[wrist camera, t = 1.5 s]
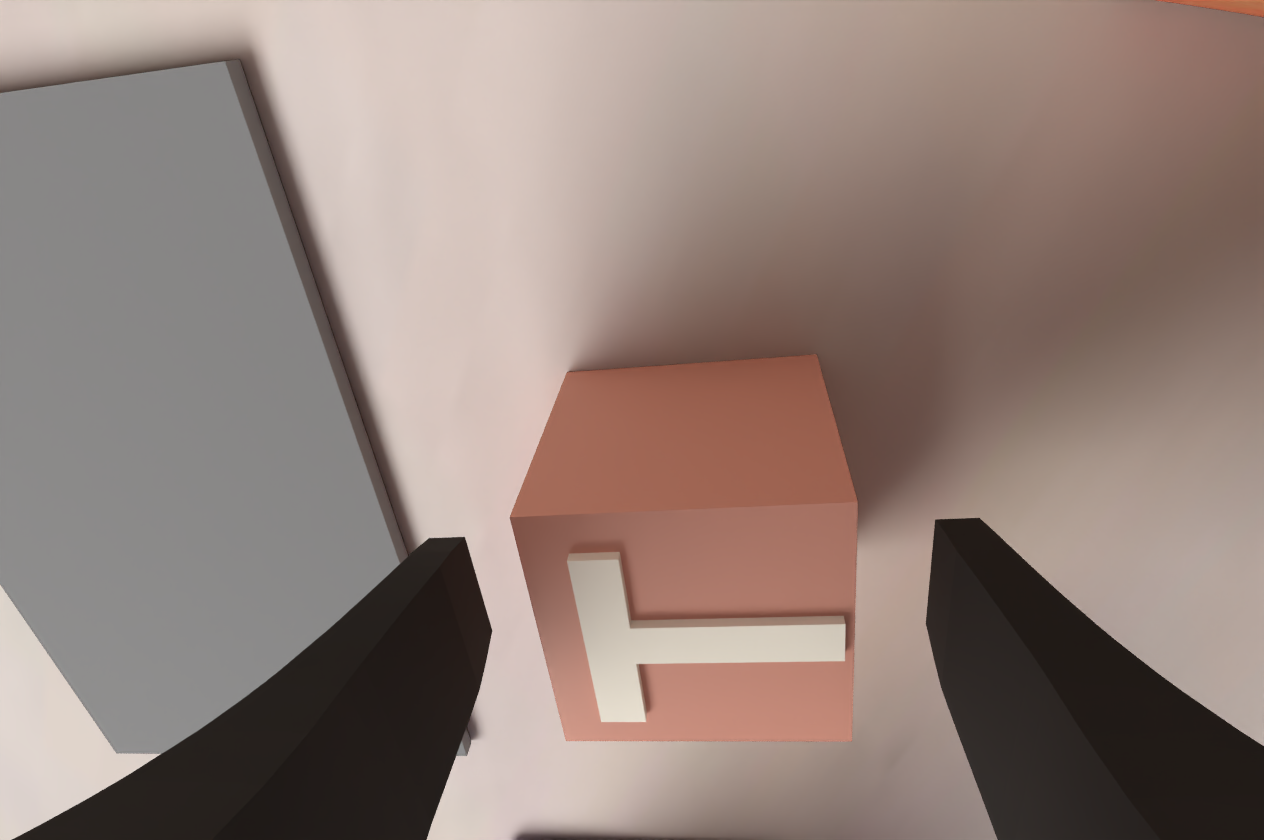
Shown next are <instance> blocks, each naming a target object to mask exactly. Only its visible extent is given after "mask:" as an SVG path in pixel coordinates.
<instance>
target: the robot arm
mask: <svg viewBox="0 0 1264 840" xmlns="http://www.w3.org/2000/svg"><path fill="white" fill-rule="evenodd" d="M926 626H927V630H928V634H929V639H930V643H931V647H932V652H933V656H934V660H935V664H936V668H937V672H938V676H939V680H940V684H941V688H942V691H943V694H944V697H945V699H946V702H947V705H948V708H949V710H950V713H951V716H952V718H953V721H954V724H955V727H956V729H957V732H958V735H959V737H960V740H961V743H962V745H963V748H964V751H965V753H966V756H967V759H968V761H969V764H970V767H971V769H972V772H973V775H974V777H975V780H976V783H977V785H978V788H979V791H980V793H981V796H982V799H983V801H984V804H985V807H986V809H987V812H988V815H989V817H990V820H991V823H992V825H993V828H994V831H995V833H996V836H997V839H998V840H1264V746H1262V745H1261V744H1259V743H1258V742H1256V741H1255V740H1253V739H1252V738H1250V737H1248V736H1247V735H1245V734H1244V733H1242V732H1241V731H1239V730H1238V729H1236V728H1235V727H1233V726H1232V725H1230V724H1229V723H1227V722H1226V721H1225V720H1223V719H1222V718H1220V717H1219V716H1217V715H1216V714H1214V713H1213V712H1211V711H1210V710H1209V709H1207V708H1206V707H1204V706H1203V705H1201V704H1200V703H1198V702H1197V701H1195V700H1194V699H1193V698H1191V697H1190V696H1188V695H1187V694H1185V693H1184V692H1182V691H1181V690H1180V689H1178V688H1177V687H1176V686H1174V685H1173V684H1172V683H1170V682H1169V681H1167V680H1166V679H1165V678H1163V677H1162V676H1161V675H1159V674H1158V673H1157V672H1155V671H1154V670H1153V669H1151V668H1150V667H1149V666H1148V665H1146V664H1145V663H1144V662H1143V661H1141V660H1140V659H1139V658H1137V657H1136V656H1135V655H1134V654H1132V653H1131V652H1130V651H1128V650H1127V649H1126V648H1125V647H1123V646H1122V645H1121V644H1120V643H1118V642H1117V641H1116V640H1114V639H1113V638H1112V637H1111V636H1110V635H1108V634H1107V633H1106V632H1105V631H1104V630H1102V629H1101V628H1100V627H1099V626H1098V625H1096V624H1095V623H1094V622H1093V621H1092V620H1091V619H1090V618H1088V617H1087V616H1086V615H1085V614H1084V613H1083V612H1081V611H1080V610H1079V609H1078V608H1077V607H1076V606H1075V605H1073V604H1072V603H1071V602H1070V601H1069V600H1068V599H1067V598H1065V597H1064V596H1063V595H1062V594H1061V593H1060V592H1059V591H1057V590H1056V589H1055V588H1054V587H1053V586H1052V585H1051V584H1050V583H1049V582H1048V581H1046V580H1045V579H1044V578H1043V577H1042V576H1041V575H1040V574H1039V573H1038V572H1037V571H1036V570H1035V569H1034V568H1032V567H1031V566H1030V565H1029V564H1028V563H1027V562H1026V561H1025V560H1024V559H1023V558H1022V557H1021V556H1020V555H1019V554H1017V553H1016V552H1015V551H1014V550H1013V549H1012V548H1011V547H1010V546H1009V545H1008V544H1007V543H1006V542H1005V541H1004V540H1003V539H1002V538H1001V537H1000V536H998V535H997V534H996V533H995V532H994V531H993V530H992V529H991V528H990V527H989V526H988V525H987V524H986V523H984V522H983V521H982V520H981V519H980V518H966V519H939V520H935V529H934V540H933V551H932V562H931V573H930V584H929V595H928V606H927V617H926ZM491 634H492V629H491V625H490V622H489V618H488V615H487V611H486V608H485V605H484V601H483V598H482V594H481V591H480V588H479V584H478V581H477V577H476V574H475V570H474V567H473V564H472V560H471V557H470V553H469V550H468V547H467V543H466V540H465V537H452V538H429V539H428V540H426V541H425V542H424V543H423V544H422V545H420V546H419V547H418V548H417V549H416V550H415V551H414V552H412V553H411V554H410V555H409V556H408V557H407V558H406V559H405V560H404V561H403V562H402V563H400V564H399V565H398V566H397V567H396V568H395V569H394V570H393V571H392V572H391V573H390V574H389V575H388V576H386V577H385V578H384V579H383V580H382V581H381V582H380V583H379V584H378V585H377V586H376V587H375V588H374V589H372V590H371V591H370V592H369V593H368V594H367V595H366V596H365V597H364V598H363V599H361V600H360V601H359V602H358V603H357V604H356V605H355V606H354V607H353V608H352V609H350V610H349V611H348V612H347V613H346V614H345V615H344V616H343V617H342V618H341V619H340V620H338V621H337V622H336V623H335V624H334V625H333V626H332V627H331V628H329V629H328V630H327V631H326V632H325V633H323V634H322V635H321V636H320V637H319V638H317V639H316V640H315V641H314V642H313V643H312V644H310V645H309V646H308V647H307V648H306V649H304V650H303V651H302V652H301V653H300V654H298V655H297V656H296V657H295V658H294V659H293V660H291V661H290V662H289V663H288V664H287V665H285V666H284V667H283V668H282V669H281V670H279V671H278V672H277V673H276V674H274V675H273V676H272V677H271V678H269V679H268V680H267V681H266V682H264V683H263V684H262V685H260V686H259V687H258V688H256V689H255V690H254V691H252V692H251V693H250V694H249V695H247V696H246V697H245V698H243V699H242V700H240V701H239V702H238V703H236V704H235V705H233V706H232V707H231V708H229V709H228V710H226V711H225V712H224V713H222V714H221V715H220V716H218V717H217V718H215V719H214V720H213V721H211V722H210V723H208V724H207V725H205V726H204V727H202V728H201V729H200V730H198V731H197V732H195V733H193V734H192V735H190V736H189V737H187V738H186V739H184V740H183V741H181V742H179V743H178V744H176V745H175V746H173V747H172V748H170V749H168V750H167V751H165V752H164V753H162V754H161V755H159V756H158V757H156V758H154V759H153V760H151V761H150V762H148V763H147V764H145V765H143V766H142V767H140V768H139V769H137V770H136V771H134V772H133V773H131V774H129V775H128V776H126V777H124V778H123V779H121V780H119V781H118V782H116V783H114V784H112V785H111V786H109V787H107V788H106V789H104V790H102V791H100V792H99V793H97V794H95V795H93V796H92V797H90V798H88V799H87V800H85V801H83V802H81V803H79V804H78V805H76V806H74V807H72V808H70V809H69V810H67V811H65V812H63V813H61V814H59V815H58V816H56V817H54V818H52V819H50V820H48V821H47V822H45V823H43V824H41V825H39V826H37V827H35V828H34V829H32V830H30V831H28V832H26V833H24V834H22V835H20V836H18V837H16V838H14V839H12V840H426V839H427V836H428V833H429V830H430V827H431V824H432V821H433V818H434V816H435V813H436V810H437V807H438V804H439V802H440V799H441V796H442V793H443V791H444V788H445V785H446V782H447V780H448V777H449V774H450V771H451V769H452V766H453V763H454V760H455V758H456V755H457V752H458V749H459V747H460V744H461V741H462V738H463V735H464V733H465V730H466V727H467V724H468V721H469V718H470V716H471V713H472V710H473V707H474V704H475V701H476V698H477V695H478V692H479V689H480V685H481V681H482V677H483V672H484V668H485V664H486V659H487V654H488V649H489V644H490V639H491Z"/></svg>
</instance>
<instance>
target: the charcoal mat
mask: <svg viewBox="0 0 1264 840" xmlns="http://www.w3.org/2000/svg"><path fill="white" fill-rule="evenodd" d="M407 557H408V554H407V551H406V548H405V545H404V542H403V539H402V536H401V534H400V531H399V528H398V525H397V522H396V519H395V516H394V513H393V510H392V507H391V504H390V501H389V498H388V495H387V492H386V489H385V486H384V483H383V481H382V478H381V475H380V472H379V469H378V466H377V463H376V460H375V457H374V454H373V451H372V448H371V445H370V442H369V439H368V436H367V433H366V430H365V428H364V425H363V422H362V419H361V416H360V413H359V410H358V407H357V404H356V401H355V398H354V395H353V392H352V389H351V386H350V383H349V380H348V377H347V374H346V372H345V369H344V366H343V363H342V360H341V357H340V354H339V351H338V348H337V345H336V342H335V339H334V336H333V333H332V330H331V327H330V324H329V321H328V319H327V316H326V313H325V310H324V307H323V304H322V301H321V298H320V295H319V292H318V289H317V286H316V283H315V280H314V277H313V274H312V271H311V268H310V266H309V263H308V260H307V257H306V254H305V251H304V248H303V245H302V242H301V239H300V236H299V233H298V230H297V227H296V224H295V221H294V218H293V215H292V212H291V210H290V207H289V204H288V201H287V198H286V195H285V192H284V189H283V186H282V183H281V180H280V177H279V174H278V171H277V168H276V165H275V162H274V159H273V157H272V154H271V151H270V148H269V145H268V142H267V139H266V136H265V133H264V130H263V127H262V124H261V121H260V118H259V115H258V112H257V109H256V106H255V104H254V101H253V98H252V95H251V92H250V89H249V86H248V83H247V80H246V77H245V74H244V71H243V68H242V65H241V62H240V59H237V60H229V61H222V62H215V63H208V64H201V65H194V66H187V67H180V68H173V69H166V70H159V71H152V72H145V73H138V74H131V75H124V76H116V77H109V78H102V79H95V80H88V81H81V82H74V83H67V84H60V85H53V86H46V87H39V88H32V89H25V90H18V91H11V92H4V93H0V585H1V586H2V588H3V589H4V591H5V592H6V593H7V595H8V596H9V598H10V599H11V601H12V602H13V604H14V605H15V607H16V608H17V609H18V611H19V612H20V614H21V615H22V617H23V618H24V620H25V621H26V623H27V624H28V625H29V627H30V628H31V630H32V631H33V633H34V634H35V636H36V637H37V638H38V640H39V641H40V643H41V644H42V646H43V647H44V649H45V650H46V652H47V653H48V654H49V656H50V657H51V659H52V660H53V662H54V663H55V665H56V666H57V668H58V669H59V670H60V672H61V673H62V675H63V676H64V678H65V679H66V681H67V682H68V684H69V685H70V686H71V688H72V689H73V691H74V692H75V694H76V695H77V697H78V698H79V700H80V701H81V702H82V704H83V705H84V707H85V708H86V710H87V711H88V713H89V714H90V716H91V717H92V718H93V720H94V721H95V723H96V724H97V726H98V727H99V729H100V730H101V731H102V733H103V734H104V736H105V737H106V739H107V740H108V742H109V743H110V745H111V746H112V747H113V749H114V750H115V752H116V753H141V754H162V753H164V752H165V751H167V750H168V749H170V748H172V747H173V746H175V745H176V744H178V743H179V742H181V741H183V740H184V739H186V738H187V737H189V736H190V735H192V734H193V733H195V732H197V731H198V730H200V729H201V728H202V727H204V726H205V725H207V724H208V723H210V722H211V721H213V720H214V719H215V718H217V717H218V716H220V715H221V714H222V713H224V712H225V711H226V710H228V709H229V708H231V707H232V706H233V705H235V704H236V703H238V702H239V701H240V700H242V699H243V698H245V697H246V696H247V695H249V694H250V693H251V692H252V691H254V690H255V689H256V688H258V687H259V686H260V685H262V684H263V683H264V682H266V681H267V680H268V679H269V678H271V677H272V676H273V675H274V674H276V673H277V672H278V671H279V670H281V669H282V668H283V667H284V666H285V665H287V664H288V663H289V662H290V661H291V660H293V659H294V658H295V657H296V656H297V655H298V654H300V653H301V652H302V651H303V650H304V649H306V648H307V647H308V646H309V645H310V644H312V643H313V642H314V641H315V640H316V639H317V638H319V637H320V636H321V635H322V634H323V633H325V632H326V631H327V630H328V629H329V628H331V627H332V626H333V625H334V624H335V623H336V622H337V621H338V620H340V619H341V618H342V617H343V616H344V615H345V614H346V613H347V612H348V611H349V610H350V609H352V608H353V607H354V606H355V605H356V604H357V603H358V602H359V601H360V600H361V599H363V598H364V597H365V596H366V595H367V594H368V593H369V592H370V591H371V590H372V589H374V588H375V587H376V586H377V585H378V584H379V583H380V582H381V581H382V580H383V579H384V578H385V577H386V576H388V575H389V574H390V573H391V572H392V571H393V570H394V569H395V568H396V567H397V566H398V565H399V564H400V563H402V562H403V561H404V560H405V559H406V558H407ZM470 745H471V740H470V737H469V734H468V731H467V728H466V730H465V733H464V735H463V738H462V741H461V744H460V747H459V749H458V752H457V755H456V756H467V754H468V751H469V748H470Z"/></svg>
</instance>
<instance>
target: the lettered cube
mask: <svg viewBox="0 0 1264 840" xmlns="http://www.w3.org/2000/svg"><path fill="white" fill-rule="evenodd" d="M857 518H858V501H857V497H856V494H855V490H854V486H853V483H852V479H851V476H850V472H849V468H848V465H847V461H846V458H845V454H844V451H843V447H842V443H841V440H840V436H839V433H838V429H837V425H836V422H835V418H834V415H833V411H832V408H831V404H830V400H829V397H828V393H827V390H826V386H825V382H824V379H823V375H822V372H821V368H820V364H819V361H818V357H817V354H815V355H801V356H787V357H773V358H759V359H745V360H731V361H717V362H703V363H689V364H675V365H661V366H646V367H632V368H618V369H604V370H590V371H576V372H567V373H566V376H565V379H564V381H563V384H562V386H561V389H560V391H559V394H558V396H557V399H556V401H555V404H554V406H553V409H552V411H551V414H550V417H549V419H548V422H547V424H546V427H545V429H544V432H543V434H542V437H541V439H540V442H539V444H538V447H537V449H536V452H535V455H534V457H533V460H532V462H531V465H530V467H529V470H528V472H527V475H526V477H525V480H524V482H523V485H522V487H521V490H520V493H519V495H518V498H517V500H516V503H515V505H514V508H513V510H512V513H511V515H510V520H511V524H512V528H513V532H514V536H515V540H516V544H517V548H518V552H519V556H520V560H521V564H522V568H523V572H524V576H525V580H526V584H527V588H528V592H529V596H530V600H531V604H532V608H533V612H534V616H535V620H536V624H537V628H538V632H539V636H540V640H541V644H542V647H543V651H544V655H545V659H546V663H547V667H548V671H549V675H550V679H551V683H552V687H553V691H554V695H555V699H556V703H557V707H558V711H559V715H560V719H561V723H562V727H563V731H564V735H565V739H566V741H852V717H853V677H854V637H855V597H856V558H857Z"/></svg>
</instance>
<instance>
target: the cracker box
mask: <svg viewBox="0 0 1264 840" xmlns="http://www.w3.org/2000/svg"><path fill="white" fill-rule="evenodd" d="M1157 1H1165V2H1172V3H1179V4H1186V5H1192V6H1199V7H1205V8H1211V9H1218V10H1224V11H1230V12H1237V13H1243V14H1249V15H1255V16H1260V17H1264V0H1157Z"/></svg>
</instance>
